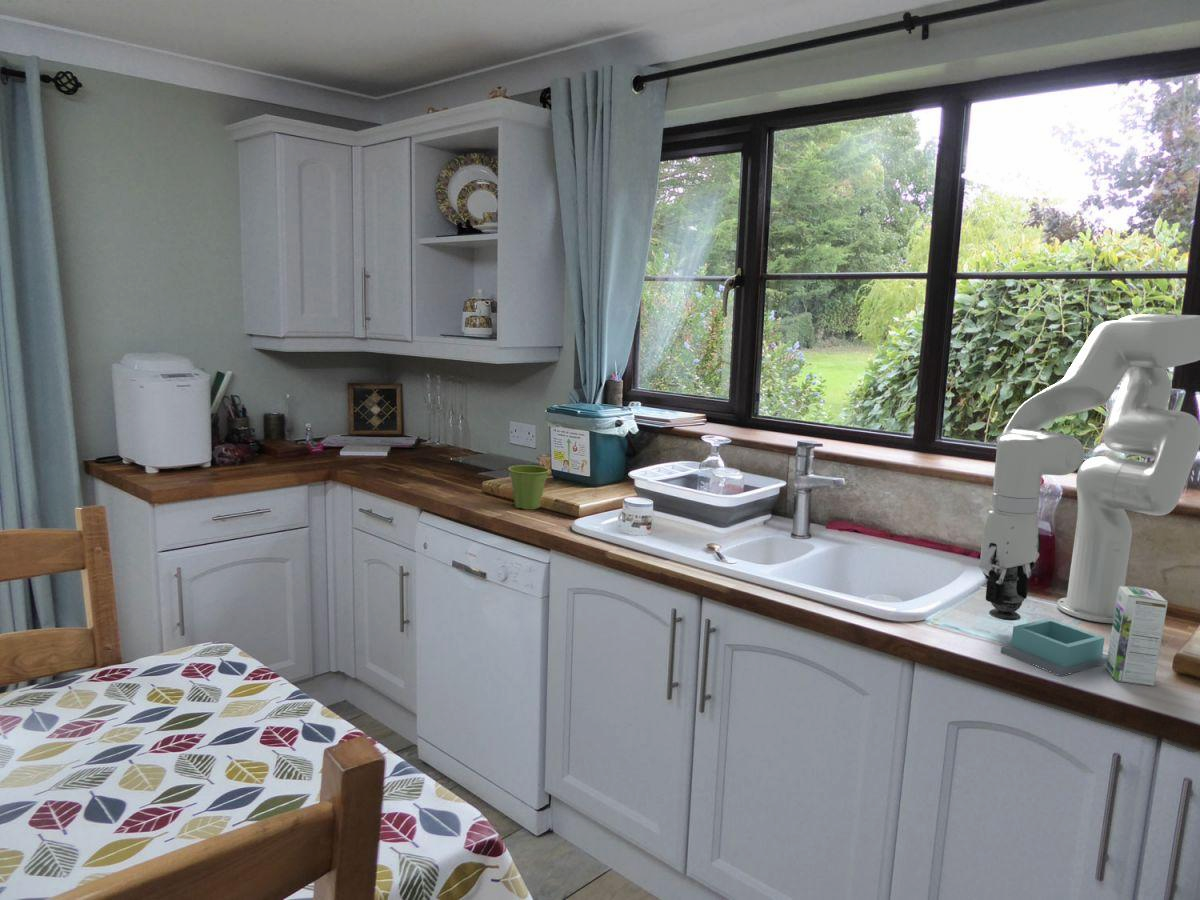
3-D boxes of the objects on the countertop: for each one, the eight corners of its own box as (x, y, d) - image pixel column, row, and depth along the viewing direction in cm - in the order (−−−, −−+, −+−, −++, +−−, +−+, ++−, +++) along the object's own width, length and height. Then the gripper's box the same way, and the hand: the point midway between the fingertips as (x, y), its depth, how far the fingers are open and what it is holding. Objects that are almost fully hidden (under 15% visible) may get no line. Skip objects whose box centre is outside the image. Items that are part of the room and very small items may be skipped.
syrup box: (1104, 667, 141) (1116, 584, 138) (1144, 673, 139) (1157, 589, 137) (1114, 681, 135) (1126, 595, 133) (1156, 687, 134) (1169, 600, 131)
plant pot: (523, 513, 233) (524, 474, 231) (499, 505, 242) (500, 467, 240) (556, 508, 240) (558, 470, 239) (532, 500, 249) (533, 463, 247)
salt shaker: (1012, 609, 157) (1017, 547, 155) (1028, 621, 151) (1035, 557, 149) (981, 609, 157) (986, 547, 154) (996, 621, 151) (1002, 557, 149)
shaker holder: (1050, 639, 152) (1053, 615, 152) (1111, 662, 143) (1114, 637, 142) (1000, 651, 146) (1003, 627, 145) (1060, 676, 136) (1064, 650, 136)
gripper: (1026, 494, 157) (1017, 586, 161) (964, 505, 149) (956, 601, 152) (1064, 503, 151) (1054, 598, 154) (1002, 514, 143) (993, 614, 146)
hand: (1006, 598), depth 153 cm, fingers closed on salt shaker, 5 cm apart
